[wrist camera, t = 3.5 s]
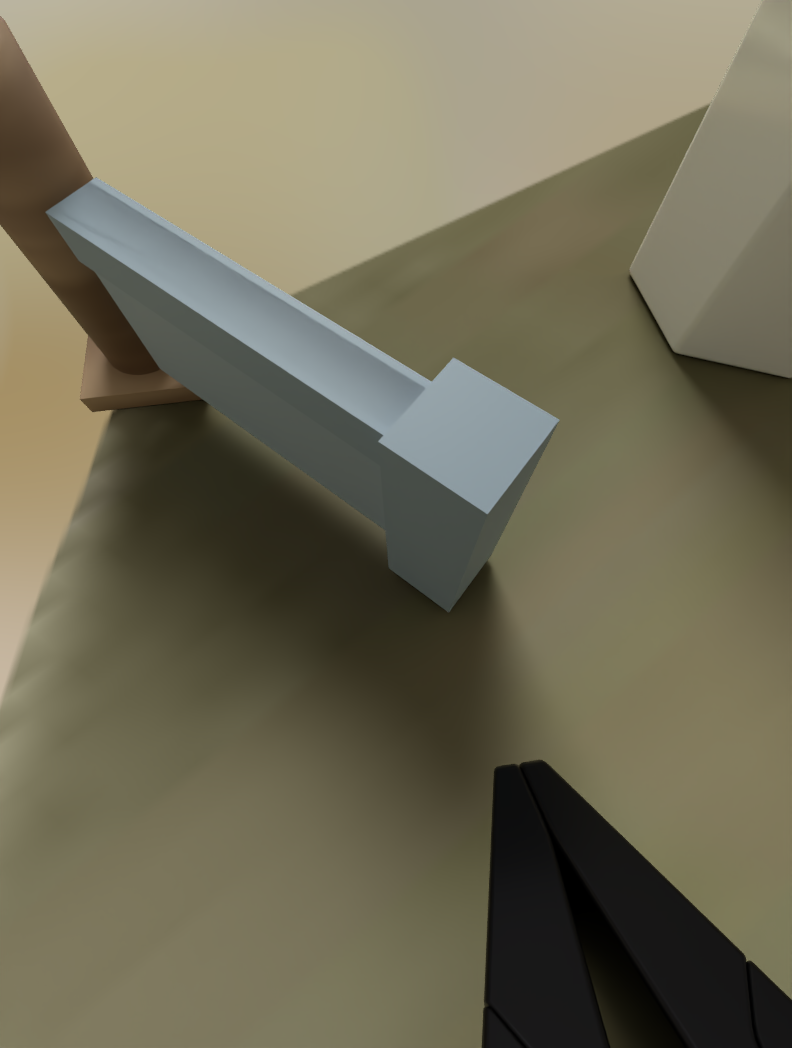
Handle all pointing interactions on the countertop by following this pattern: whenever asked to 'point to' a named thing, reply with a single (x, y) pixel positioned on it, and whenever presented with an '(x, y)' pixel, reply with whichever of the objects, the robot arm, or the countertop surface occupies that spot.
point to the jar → (732, 216)
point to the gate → (321, 392)
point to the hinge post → (19, 207)
